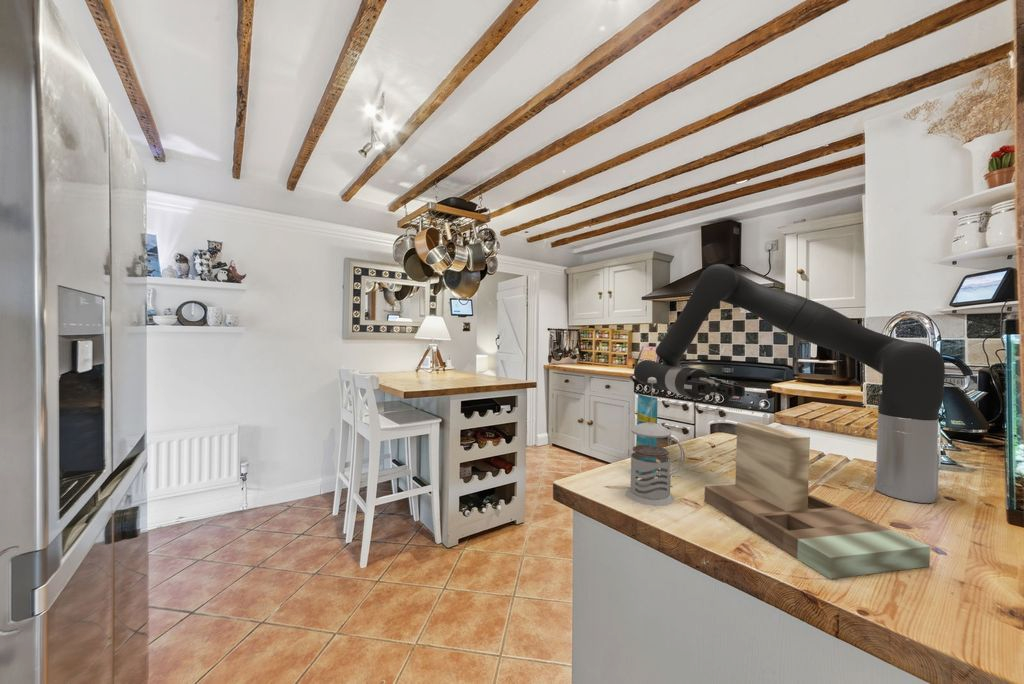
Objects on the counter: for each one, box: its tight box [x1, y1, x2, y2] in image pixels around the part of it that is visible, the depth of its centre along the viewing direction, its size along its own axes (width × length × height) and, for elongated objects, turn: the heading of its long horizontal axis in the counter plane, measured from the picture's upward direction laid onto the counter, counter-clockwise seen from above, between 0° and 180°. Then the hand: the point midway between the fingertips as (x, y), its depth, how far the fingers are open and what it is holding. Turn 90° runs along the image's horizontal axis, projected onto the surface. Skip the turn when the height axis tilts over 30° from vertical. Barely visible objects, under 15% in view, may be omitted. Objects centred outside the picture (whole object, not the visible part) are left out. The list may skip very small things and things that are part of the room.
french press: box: [625, 377, 686, 507], centre depth 82 cm, size 10×12×25 cm
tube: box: [635, 393, 658, 478], centre depth 95 cm, size 7×5×19 cm, turn 23°
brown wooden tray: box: [704, 483, 931, 580], centre depth 69 cm, size 18×26×3 cm
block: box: [735, 421, 811, 511], centre depth 76 cm, size 4×12×13 cm, turn 11°
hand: (738, 391), depth 84 cm, fingers closed
